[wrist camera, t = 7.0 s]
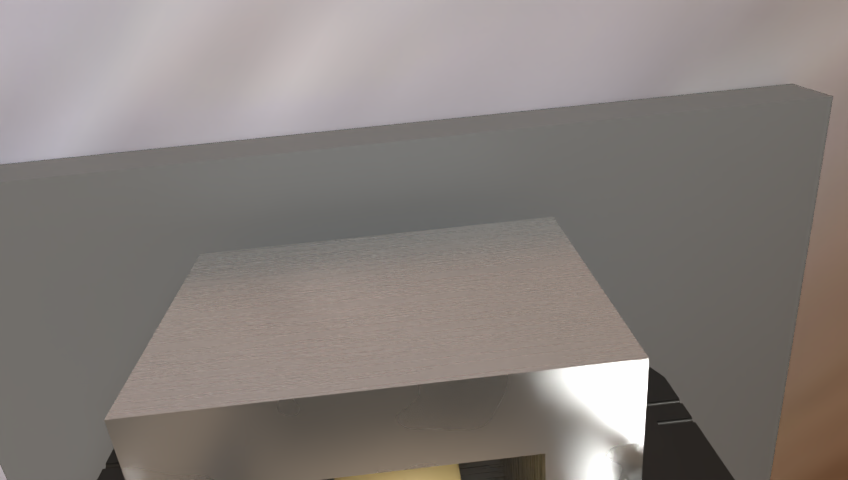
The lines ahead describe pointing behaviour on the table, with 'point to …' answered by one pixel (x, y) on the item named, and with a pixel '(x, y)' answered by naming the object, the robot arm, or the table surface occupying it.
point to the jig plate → (417, 211)
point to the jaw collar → (389, 364)
